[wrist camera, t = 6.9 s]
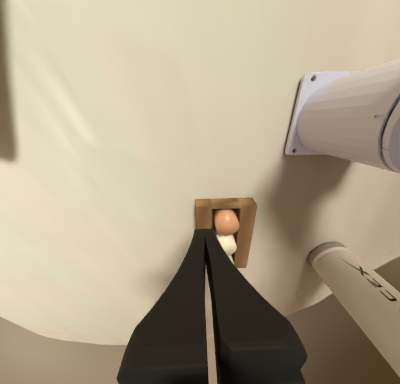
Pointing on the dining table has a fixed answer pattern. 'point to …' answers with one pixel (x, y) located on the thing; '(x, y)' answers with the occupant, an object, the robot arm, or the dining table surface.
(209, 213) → the panel
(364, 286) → the travel mug
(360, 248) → the dining table surface
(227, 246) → the button mid
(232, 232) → the button
